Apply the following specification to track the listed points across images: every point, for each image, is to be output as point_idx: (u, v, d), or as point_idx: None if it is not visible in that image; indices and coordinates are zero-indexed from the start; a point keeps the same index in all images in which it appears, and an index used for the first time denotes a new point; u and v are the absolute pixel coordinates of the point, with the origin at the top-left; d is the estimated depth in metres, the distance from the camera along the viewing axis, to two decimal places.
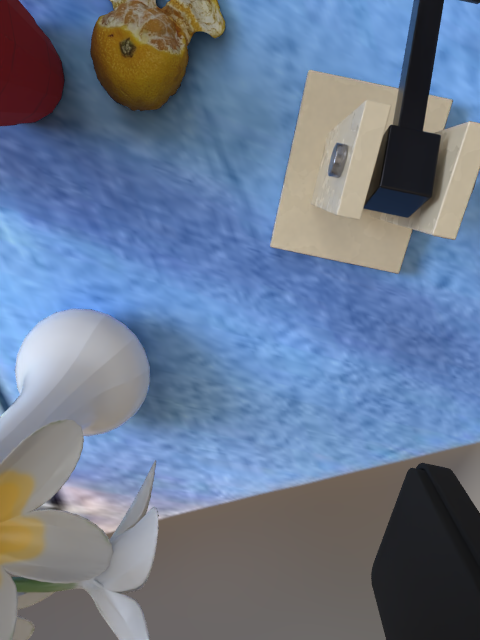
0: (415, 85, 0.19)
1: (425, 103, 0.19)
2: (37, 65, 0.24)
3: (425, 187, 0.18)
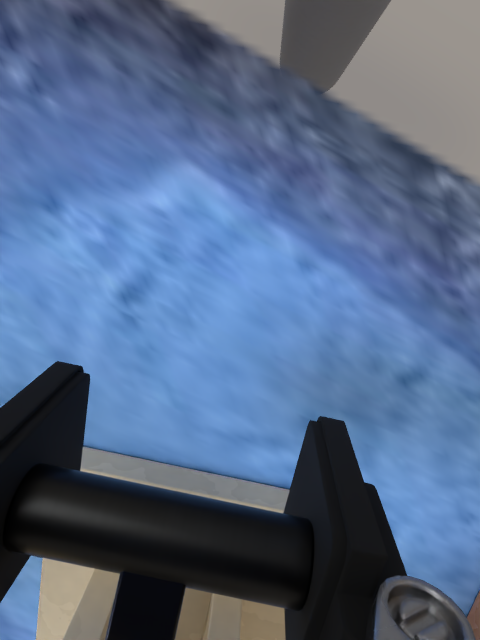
0: None
1: None
2: None
3: None
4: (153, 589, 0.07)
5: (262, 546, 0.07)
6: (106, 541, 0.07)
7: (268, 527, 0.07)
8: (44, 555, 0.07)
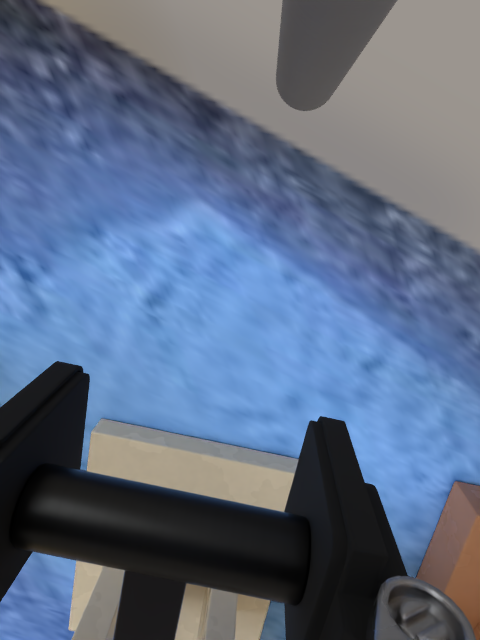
0: None
1: None
2: None
3: None
4: (156, 585, 0.08)
5: (258, 559, 0.07)
6: (106, 553, 0.07)
7: (264, 541, 0.07)
8: (52, 555, 0.08)
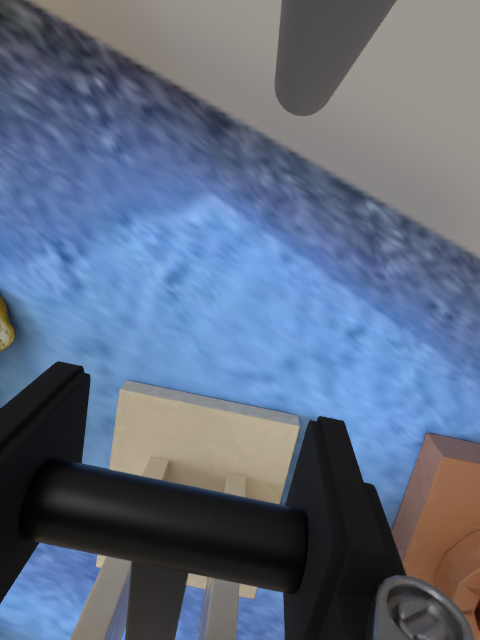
0: None
1: None
2: None
3: None
4: (161, 570, 0.08)
5: (255, 563, 0.08)
6: (111, 553, 0.08)
7: (262, 546, 0.08)
8: None
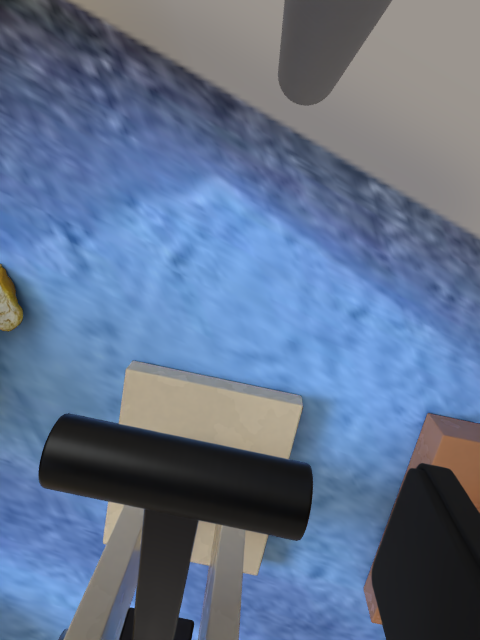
0: (148, 638, 0.12)
1: None
2: None
3: None
4: (173, 518, 0.09)
5: (262, 509, 0.08)
6: (125, 499, 0.08)
7: (269, 493, 0.08)
8: None
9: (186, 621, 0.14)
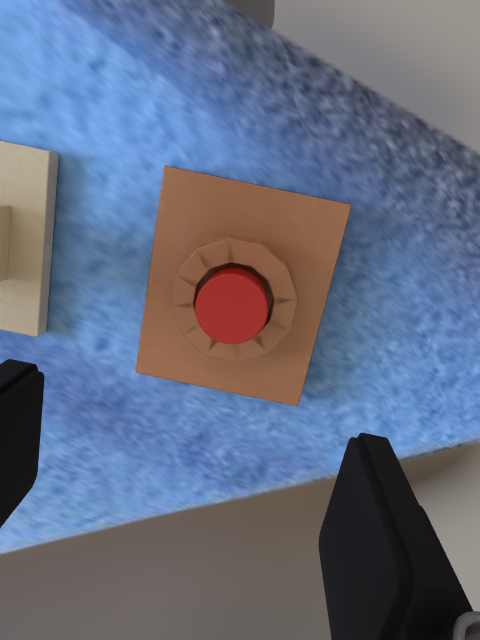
0: None
1: None
2: None
3: None
4: None
5: None
6: None
7: None
8: None
9: None
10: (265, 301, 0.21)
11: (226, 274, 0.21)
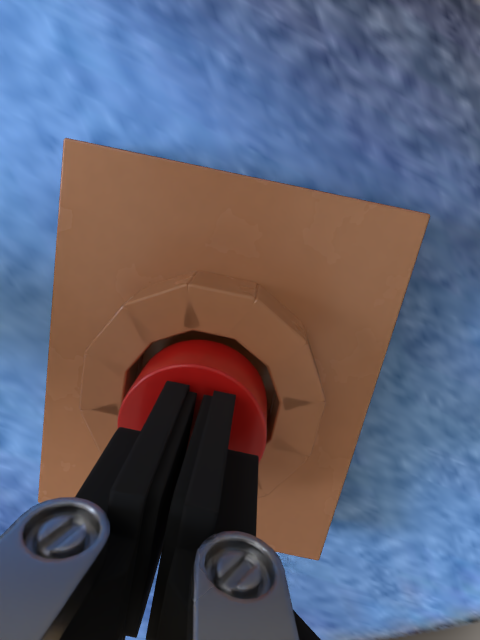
0: None
1: None
2: None
3: None
4: None
5: None
6: None
7: None
8: None
9: None
10: (261, 419, 0.10)
11: (179, 364, 0.10)
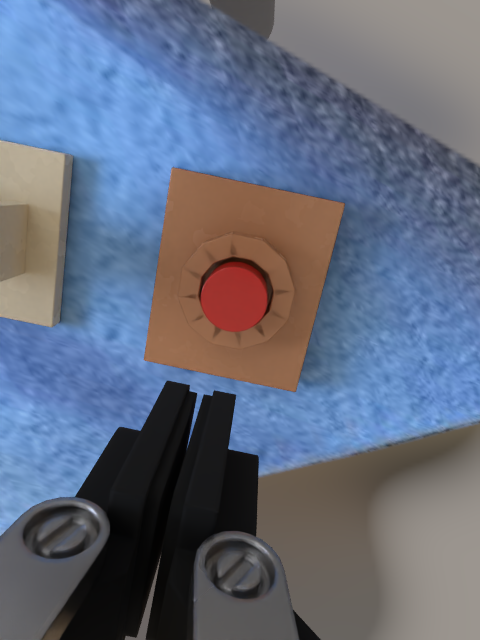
0: None
1: None
2: None
3: None
4: None
5: None
6: None
7: None
8: None
9: None
10: (265, 292, 0.23)
11: (229, 267, 0.23)
